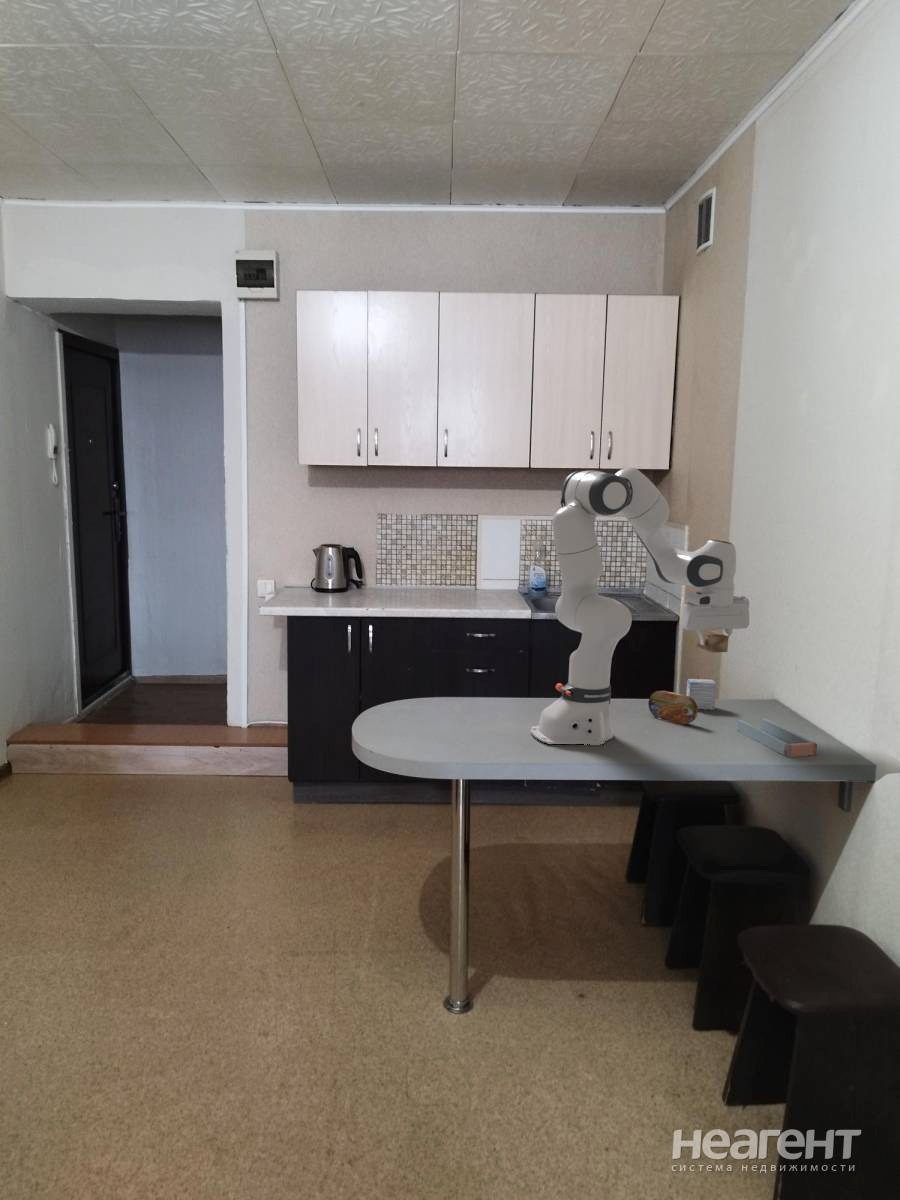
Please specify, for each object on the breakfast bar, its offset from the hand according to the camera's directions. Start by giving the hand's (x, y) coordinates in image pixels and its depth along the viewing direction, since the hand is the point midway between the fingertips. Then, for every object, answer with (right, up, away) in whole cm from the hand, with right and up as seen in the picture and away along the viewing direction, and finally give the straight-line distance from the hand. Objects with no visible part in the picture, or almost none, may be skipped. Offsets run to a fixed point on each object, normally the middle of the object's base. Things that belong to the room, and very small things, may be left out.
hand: (713, 644), depth 233 cm
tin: (-11, -23, +4) cm, 26 cm away
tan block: (0, -1, +1) cm, 2 cm away
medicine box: (+1, -21, +17) cm, 27 cm away
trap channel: (+12, -26, -14) cm, 32 cm away
